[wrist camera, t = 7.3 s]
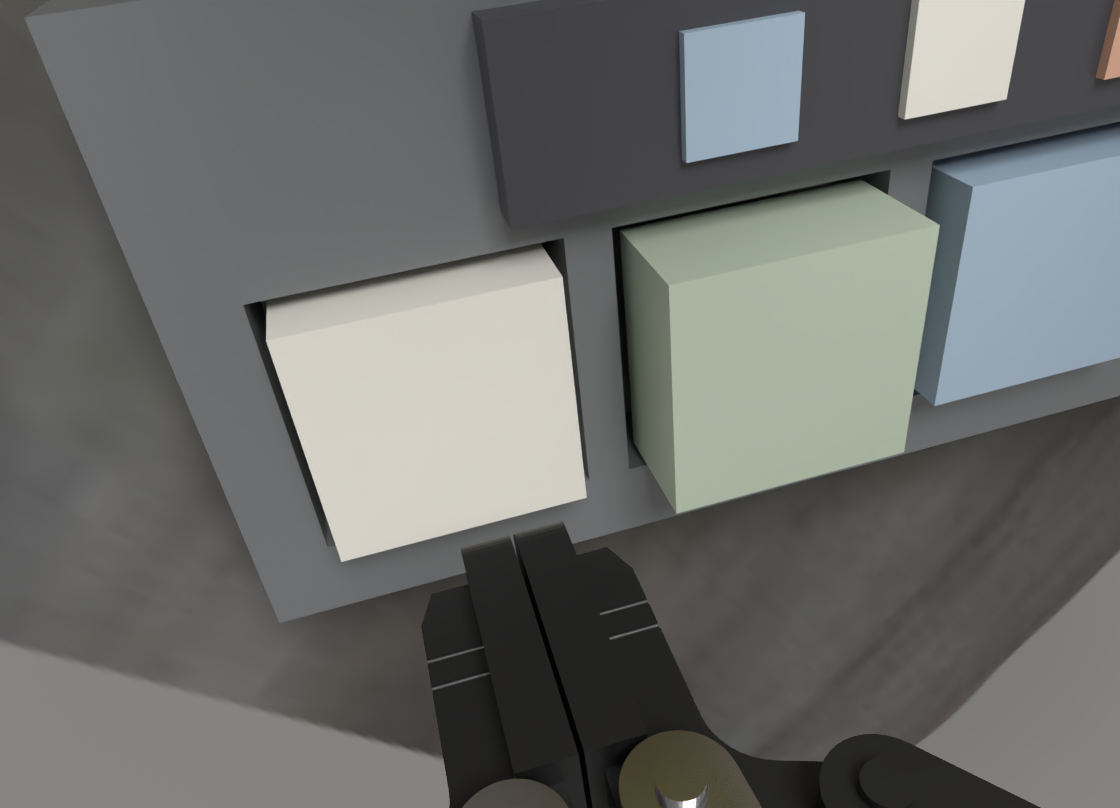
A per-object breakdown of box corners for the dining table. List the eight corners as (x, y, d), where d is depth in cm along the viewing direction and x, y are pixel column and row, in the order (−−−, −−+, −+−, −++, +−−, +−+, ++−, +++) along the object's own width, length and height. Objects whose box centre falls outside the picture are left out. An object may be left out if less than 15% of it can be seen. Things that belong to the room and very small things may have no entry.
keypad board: (67, -13, 14) (5, 30, 11) (1438, -212, 19) (1682, -223, 15) (278, 532, 21) (279, 659, 18) (1244, 287, 25) (1385, 352, 22)
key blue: (895, 148, 18) (973, 186, 16) (1099, 106, 19) (1197, 138, 17) (871, 351, 21) (934, 406, 19) (1049, 307, 22) (1128, 355, 20)
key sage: (619, 230, 16) (668, 285, 14) (860, 179, 17) (939, 225, 15) (633, 442, 19) (676, 514, 17) (839, 390, 20) (903, 452, 18)
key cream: (267, 278, 16) (265, 340, 14) (527, 224, 17) (562, 276, 15) (334, 484, 19) (341, 562, 17) (554, 430, 20) (586, 498, 18)
